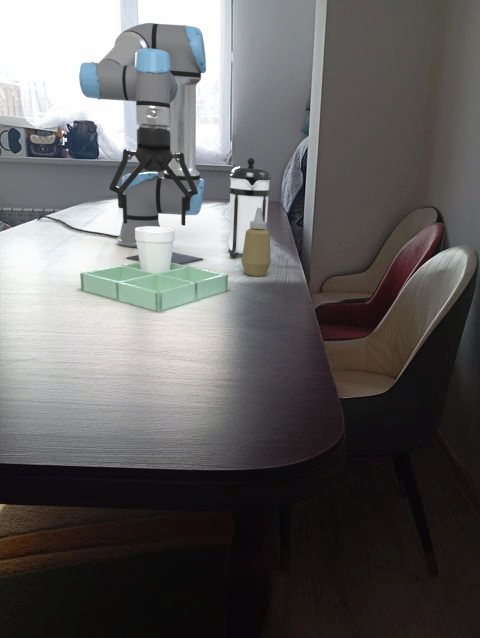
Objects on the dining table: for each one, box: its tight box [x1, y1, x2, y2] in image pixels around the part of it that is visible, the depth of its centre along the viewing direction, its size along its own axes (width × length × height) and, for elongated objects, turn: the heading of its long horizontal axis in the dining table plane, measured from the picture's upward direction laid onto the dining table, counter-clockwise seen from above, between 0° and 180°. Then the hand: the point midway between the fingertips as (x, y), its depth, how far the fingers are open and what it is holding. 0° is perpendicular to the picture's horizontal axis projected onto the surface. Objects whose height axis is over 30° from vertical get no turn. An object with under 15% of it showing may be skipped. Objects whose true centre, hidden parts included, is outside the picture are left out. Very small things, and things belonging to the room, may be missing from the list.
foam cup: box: [135, 226, 176, 273], centre depth 126 cm, size 10×9×13 cm
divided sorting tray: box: [79, 261, 229, 313], centre depth 121 cm, size 24×24×4 cm
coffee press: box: [227, 157, 272, 259], centre depth 164 cm, size 17×16×30 cm
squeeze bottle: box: [241, 208, 272, 277], centre depth 140 cm, size 8×8×18 cm
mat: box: [126, 251, 204, 265], centre depth 155 cm, size 16×16×1 cm
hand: (154, 223), depth 123 cm, fingers open, 13 cm apart
